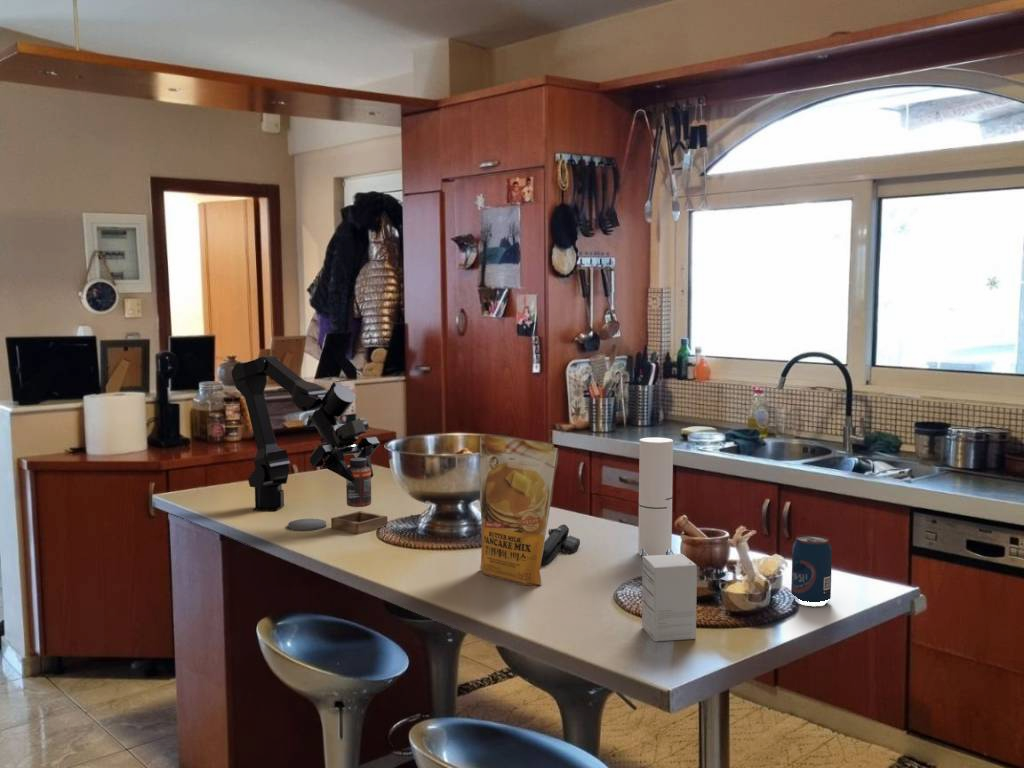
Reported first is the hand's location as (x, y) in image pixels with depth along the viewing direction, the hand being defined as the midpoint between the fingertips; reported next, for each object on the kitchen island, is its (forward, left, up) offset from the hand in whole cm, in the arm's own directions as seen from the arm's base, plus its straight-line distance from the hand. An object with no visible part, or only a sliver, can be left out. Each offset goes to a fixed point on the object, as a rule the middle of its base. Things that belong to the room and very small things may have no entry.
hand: (362, 478), depth 236 cm
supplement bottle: (-1, +1, -7) cm, 7 cm away
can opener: (+47, -20, -13) cm, 53 cm away
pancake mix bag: (+40, -36, -12) cm, 55 cm away
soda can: (+96, -47, -12) cm, 108 cm away
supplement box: (+69, -66, -12) cm, 96 cm away
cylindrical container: (+69, -16, -12) cm, 72 cm away
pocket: (-1, +1, -12) cm, 12 cm away
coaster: (-14, +1, -12) cm, 19 cm away
